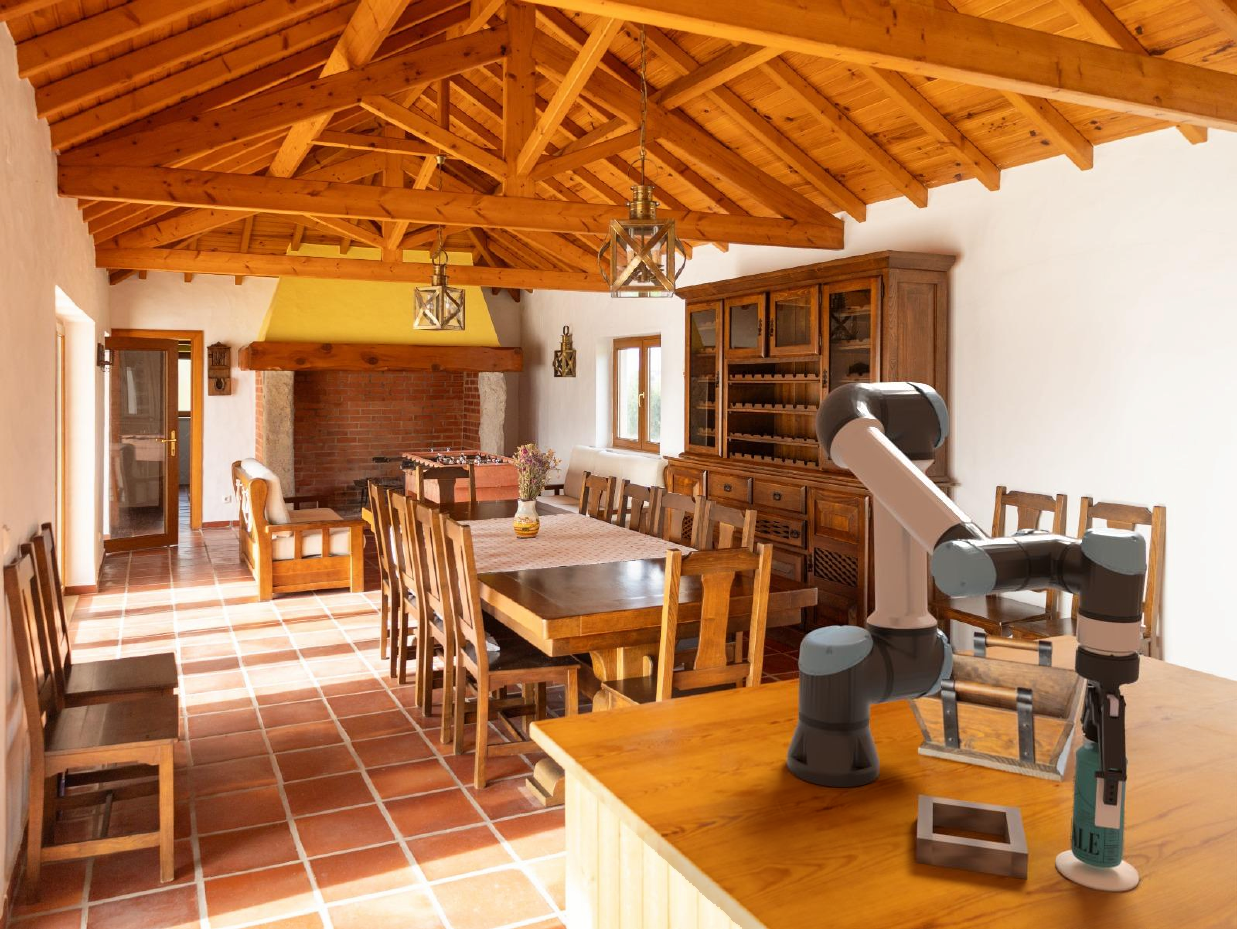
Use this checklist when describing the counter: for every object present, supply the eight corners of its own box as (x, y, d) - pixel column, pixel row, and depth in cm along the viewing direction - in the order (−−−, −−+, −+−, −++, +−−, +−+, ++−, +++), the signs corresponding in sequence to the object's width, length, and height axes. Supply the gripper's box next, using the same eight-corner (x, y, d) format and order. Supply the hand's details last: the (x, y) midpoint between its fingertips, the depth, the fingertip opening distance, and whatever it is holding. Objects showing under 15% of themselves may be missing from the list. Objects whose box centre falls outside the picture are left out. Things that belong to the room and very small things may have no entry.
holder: (916, 862, 132) (916, 837, 132) (918, 817, 145) (918, 794, 145) (1027, 878, 128) (1028, 853, 128) (1018, 831, 141) (1019, 807, 141)
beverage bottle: (1125, 863, 131) (1134, 720, 129) (1119, 885, 125) (1127, 736, 123) (1073, 849, 135) (1080, 710, 132) (1064, 870, 129) (1072, 725, 127)
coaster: (1060, 883, 127) (1060, 880, 127) (1051, 848, 136) (1051, 844, 136) (1145, 896, 124) (1145, 893, 123) (1130, 859, 133) (1131, 855, 133)
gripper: (1160, 680, 114) (1149, 852, 116) (1122, 625, 137) (1113, 769, 140) (1090, 673, 116) (1080, 842, 118) (1064, 620, 140) (1056, 762, 142)
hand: (1098, 803), depth 129 cm, fingers open, 13 cm apart
